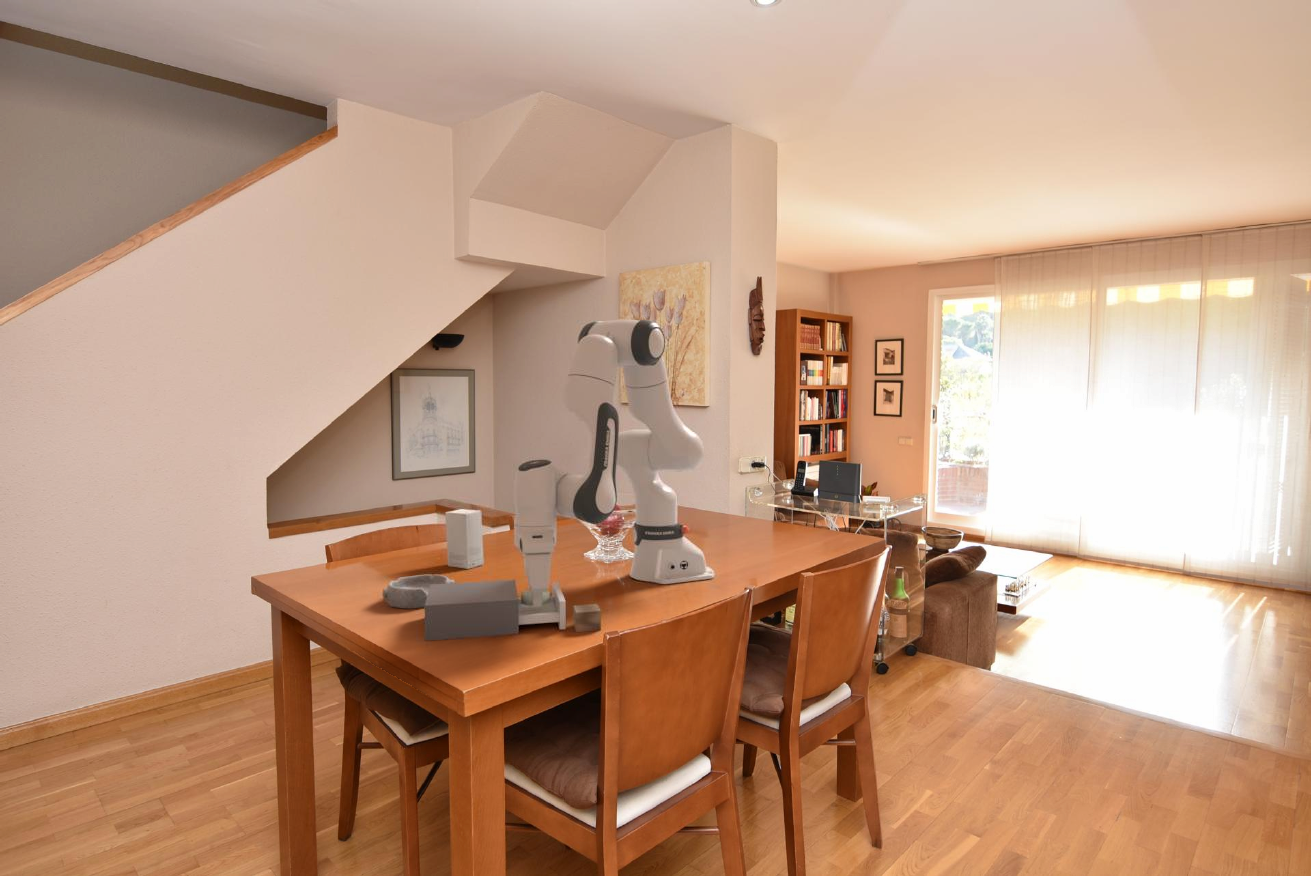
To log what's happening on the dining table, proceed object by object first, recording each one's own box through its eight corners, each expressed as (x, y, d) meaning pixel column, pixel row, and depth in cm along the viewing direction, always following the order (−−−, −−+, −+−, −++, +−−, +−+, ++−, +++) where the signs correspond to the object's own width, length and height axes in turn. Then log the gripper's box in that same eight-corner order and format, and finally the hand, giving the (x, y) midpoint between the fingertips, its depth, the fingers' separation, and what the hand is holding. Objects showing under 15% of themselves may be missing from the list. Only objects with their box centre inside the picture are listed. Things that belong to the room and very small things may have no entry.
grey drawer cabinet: (515, 610, 160) (514, 579, 159) (518, 633, 144) (518, 599, 144) (431, 616, 156) (430, 584, 155) (425, 640, 140) (424, 605, 140)
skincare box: (484, 565, 202) (483, 510, 201) (466, 570, 197) (465, 513, 196) (463, 561, 207) (462, 508, 206) (445, 566, 201) (444, 511, 200)
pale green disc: (548, 596, 156) (548, 587, 156) (551, 604, 150) (551, 595, 150) (520, 598, 155) (520, 589, 155) (522, 606, 149) (522, 597, 149)
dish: (459, 595, 172) (459, 575, 172) (429, 612, 159) (428, 590, 159) (406, 591, 176) (405, 571, 175) (371, 608, 162) (371, 586, 162)
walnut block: (597, 622, 152) (597, 604, 151) (600, 630, 147) (600, 610, 146) (573, 624, 150) (573, 605, 150) (576, 631, 146) (576, 612, 145)
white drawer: (559, 607, 162) (559, 581, 162) (567, 628, 147) (567, 601, 146) (476, 612, 158) (475, 586, 157) (475, 635, 143) (474, 607, 142)
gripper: (517, 528, 161) (518, 589, 162) (522, 547, 141) (523, 616, 142) (546, 527, 163) (546, 587, 163) (554, 545, 143) (555, 613, 144)
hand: (535, 601), depth 153 cm, fingers closed on pale green disc, 6 cm apart
